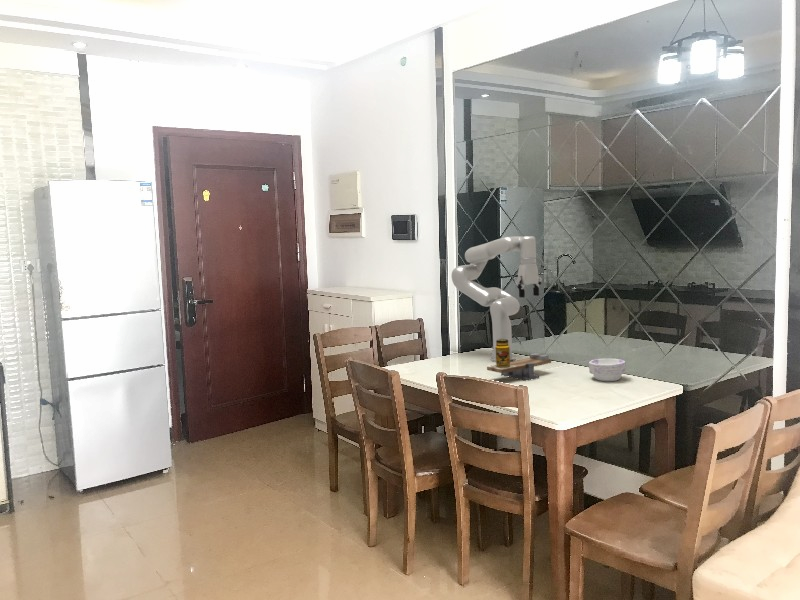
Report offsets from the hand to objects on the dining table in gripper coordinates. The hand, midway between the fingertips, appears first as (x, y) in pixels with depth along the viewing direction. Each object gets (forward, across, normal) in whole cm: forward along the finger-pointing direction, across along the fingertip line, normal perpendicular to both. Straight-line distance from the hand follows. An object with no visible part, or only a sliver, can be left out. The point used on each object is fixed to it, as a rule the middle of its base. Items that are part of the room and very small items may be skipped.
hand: (529, 296), depth 320 cm
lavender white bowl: (+34, +2, +48) cm, 59 cm away
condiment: (+27, +35, +18) cm, 48 cm away
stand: (+33, +25, +18) cm, 45 cm away
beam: (+28, +25, +18) cm, 41 cm away
